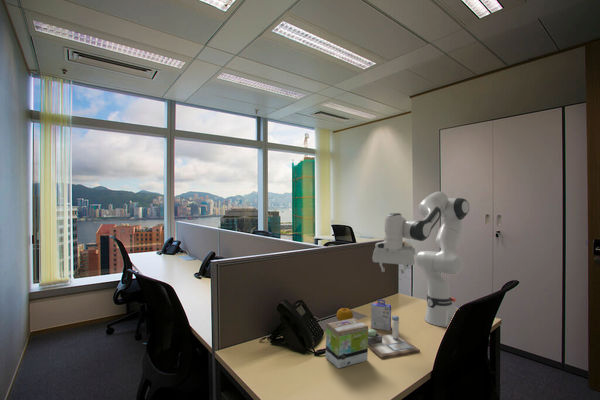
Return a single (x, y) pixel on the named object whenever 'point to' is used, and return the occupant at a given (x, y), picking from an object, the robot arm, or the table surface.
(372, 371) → the table surface
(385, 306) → the ink cartridge box
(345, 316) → the apple
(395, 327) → the cylinder
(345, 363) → the tea box
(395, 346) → the brown shallow tray
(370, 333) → the button
